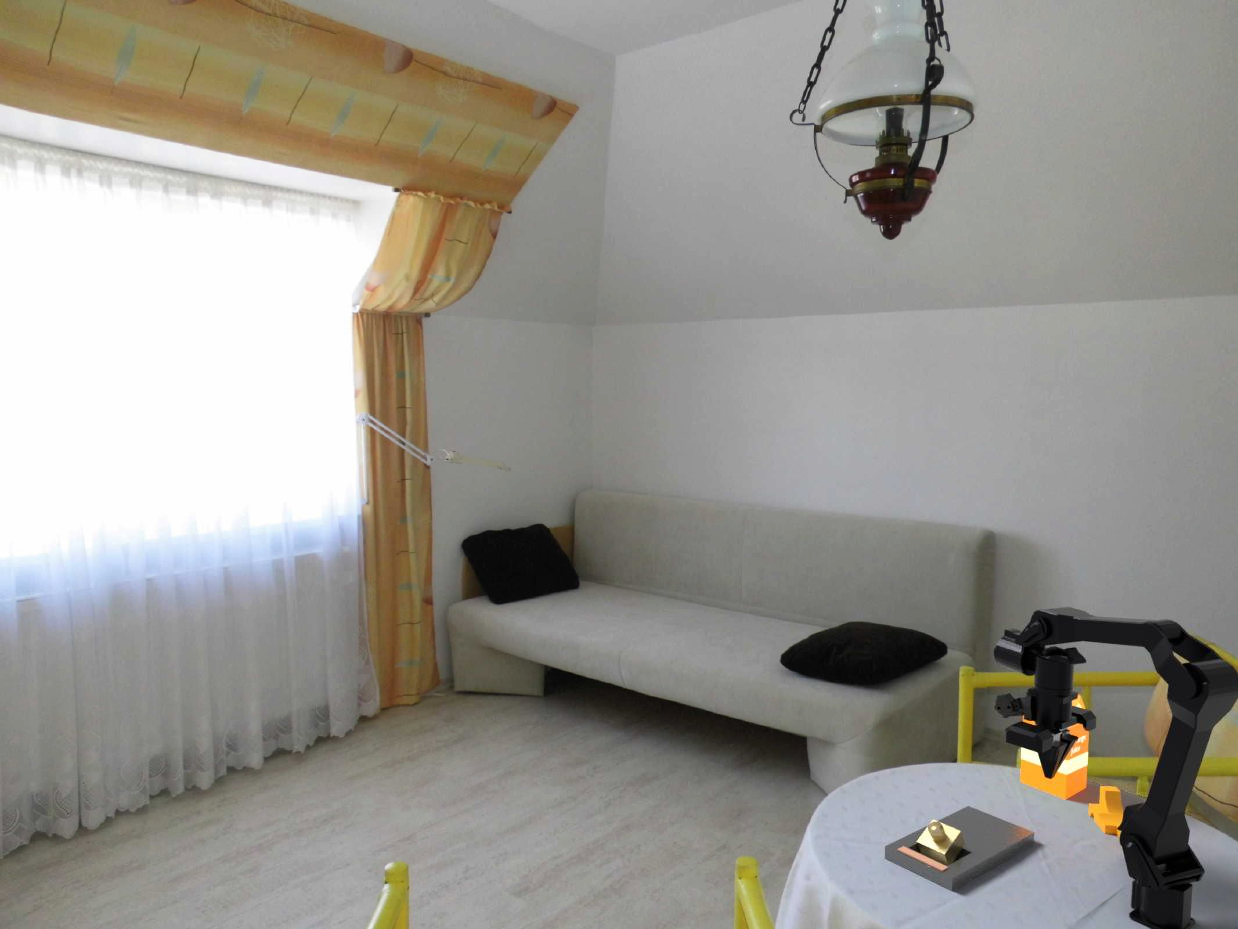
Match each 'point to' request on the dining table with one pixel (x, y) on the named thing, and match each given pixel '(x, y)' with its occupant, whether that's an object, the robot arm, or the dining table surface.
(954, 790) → the dining table surface
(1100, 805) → the pipe clamp
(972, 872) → the dark grey slab
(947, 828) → the gold block with knob
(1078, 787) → the orange juice
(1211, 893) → the dining table surface
